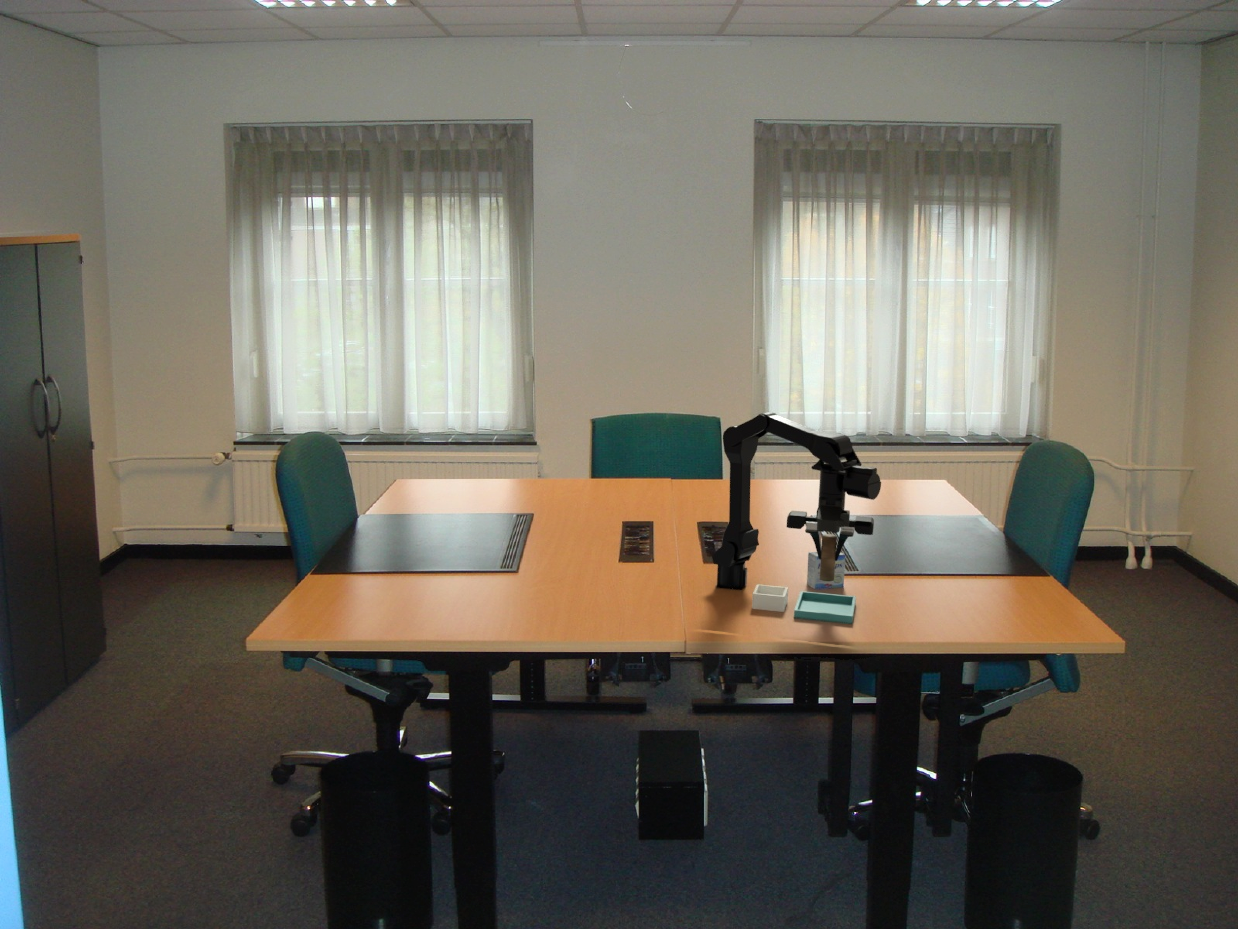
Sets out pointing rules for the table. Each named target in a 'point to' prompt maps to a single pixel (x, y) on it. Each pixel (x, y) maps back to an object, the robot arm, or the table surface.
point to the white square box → (770, 598)
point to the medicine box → (814, 572)
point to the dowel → (828, 557)
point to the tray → (825, 607)
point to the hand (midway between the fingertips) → (828, 559)
